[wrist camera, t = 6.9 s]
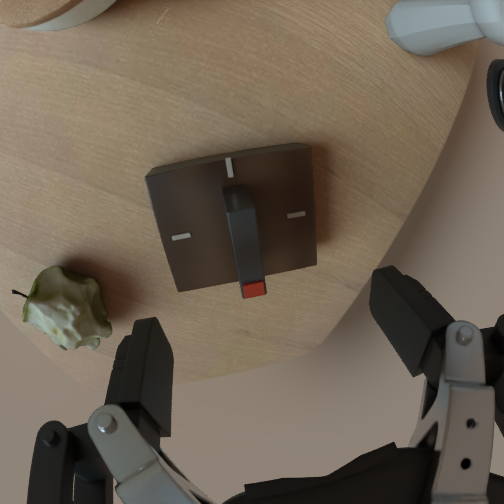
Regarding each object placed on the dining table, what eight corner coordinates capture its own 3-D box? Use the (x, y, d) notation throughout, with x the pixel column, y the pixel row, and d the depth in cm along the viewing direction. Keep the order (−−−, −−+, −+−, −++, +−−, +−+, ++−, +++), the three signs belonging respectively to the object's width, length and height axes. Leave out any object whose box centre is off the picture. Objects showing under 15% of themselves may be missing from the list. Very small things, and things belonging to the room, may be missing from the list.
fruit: (31, 264, 24) (-6, 293, 17) (101, 247, 26) (73, 275, 18) (60, 337, 27) (35, 378, 19) (127, 327, 29) (113, 373, 21)
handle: (221, 188, 20) (226, 213, 15) (243, 184, 20) (255, 208, 15) (234, 261, 23) (243, 301, 18) (254, 257, 23) (267, 296, 18)
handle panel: (298, 141, 22) (311, 146, 19) (306, 250, 27) (317, 267, 24) (151, 167, 21) (143, 176, 18) (180, 274, 26) (178, 294, 23)
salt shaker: (375, -3, 16) (476, -38, 4) (421, 16, 17) (521, 2, 5) (379, 49, 18) (493, 35, 7) (425, 64, 19) (532, 69, 8)
